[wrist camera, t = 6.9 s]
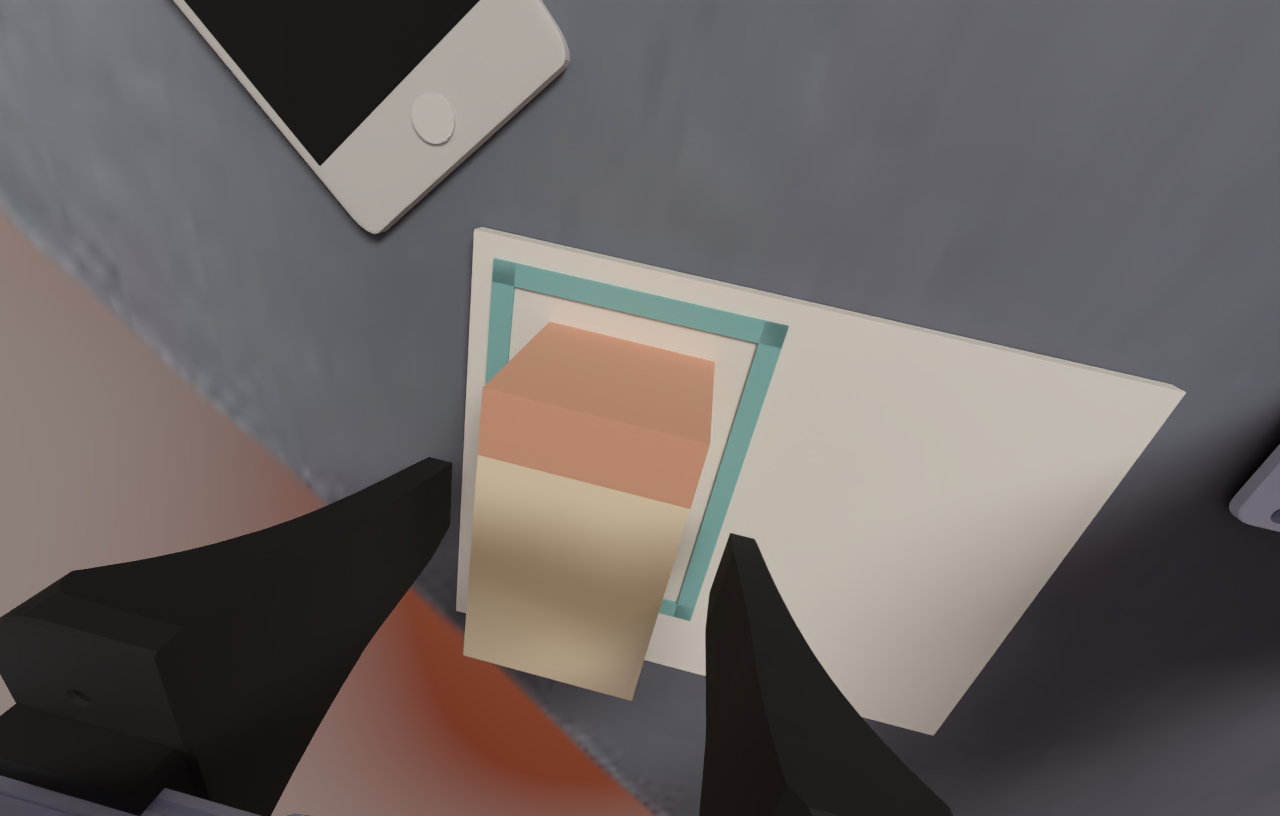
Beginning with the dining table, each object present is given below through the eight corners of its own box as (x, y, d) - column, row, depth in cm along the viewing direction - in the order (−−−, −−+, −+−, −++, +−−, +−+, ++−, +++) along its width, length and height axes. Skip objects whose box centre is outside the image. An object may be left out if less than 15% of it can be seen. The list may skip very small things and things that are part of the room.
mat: (1170, 384, 13) (1189, 394, 13) (928, 722, 20) (934, 738, 19) (481, 226, 14) (472, 230, 14) (461, 600, 21) (454, 612, 20)
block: (652, 578, 18) (631, 700, 14) (521, 543, 18) (463, 655, 14) (714, 361, 14) (709, 444, 10) (549, 321, 15) (482, 387, 11)
